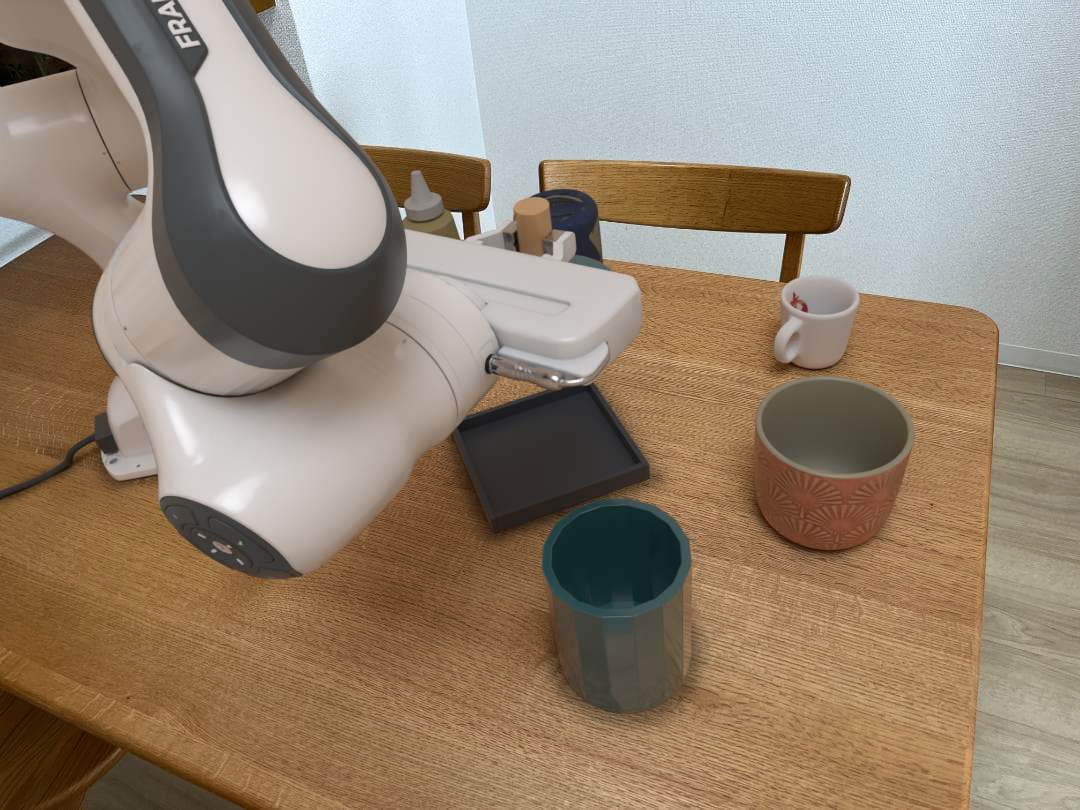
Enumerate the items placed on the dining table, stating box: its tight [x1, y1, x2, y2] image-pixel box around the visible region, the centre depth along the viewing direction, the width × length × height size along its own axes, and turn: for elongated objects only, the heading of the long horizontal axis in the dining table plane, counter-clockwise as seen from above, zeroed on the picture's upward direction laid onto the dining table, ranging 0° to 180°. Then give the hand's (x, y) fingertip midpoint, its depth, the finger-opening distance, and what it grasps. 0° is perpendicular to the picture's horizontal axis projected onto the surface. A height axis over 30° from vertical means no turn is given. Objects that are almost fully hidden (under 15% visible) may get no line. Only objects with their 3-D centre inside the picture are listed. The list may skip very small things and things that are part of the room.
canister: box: [512, 188, 604, 264], centre depth 93 cm, size 10×10×18 cm
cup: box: [773, 274, 861, 370], centre depth 87 cm, size 11×8×8 cm
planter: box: [753, 375, 916, 551], centre depth 70 cm, size 12×12×11 cm
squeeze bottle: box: [402, 169, 461, 240], centre depth 102 cm, size 8×8×18 cm
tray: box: [451, 381, 651, 535], centre depth 82 cm, size 16×15×2 cm
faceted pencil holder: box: [541, 497, 693, 714], centre depth 61 cm, size 10×10×13 cm
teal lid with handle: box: [512, 196, 614, 272], centre depth 56 cm, size 11×11×8 cm
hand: (542, 235), depth 55 cm, fingers closed on teal lid with handle, 2 cm apart
